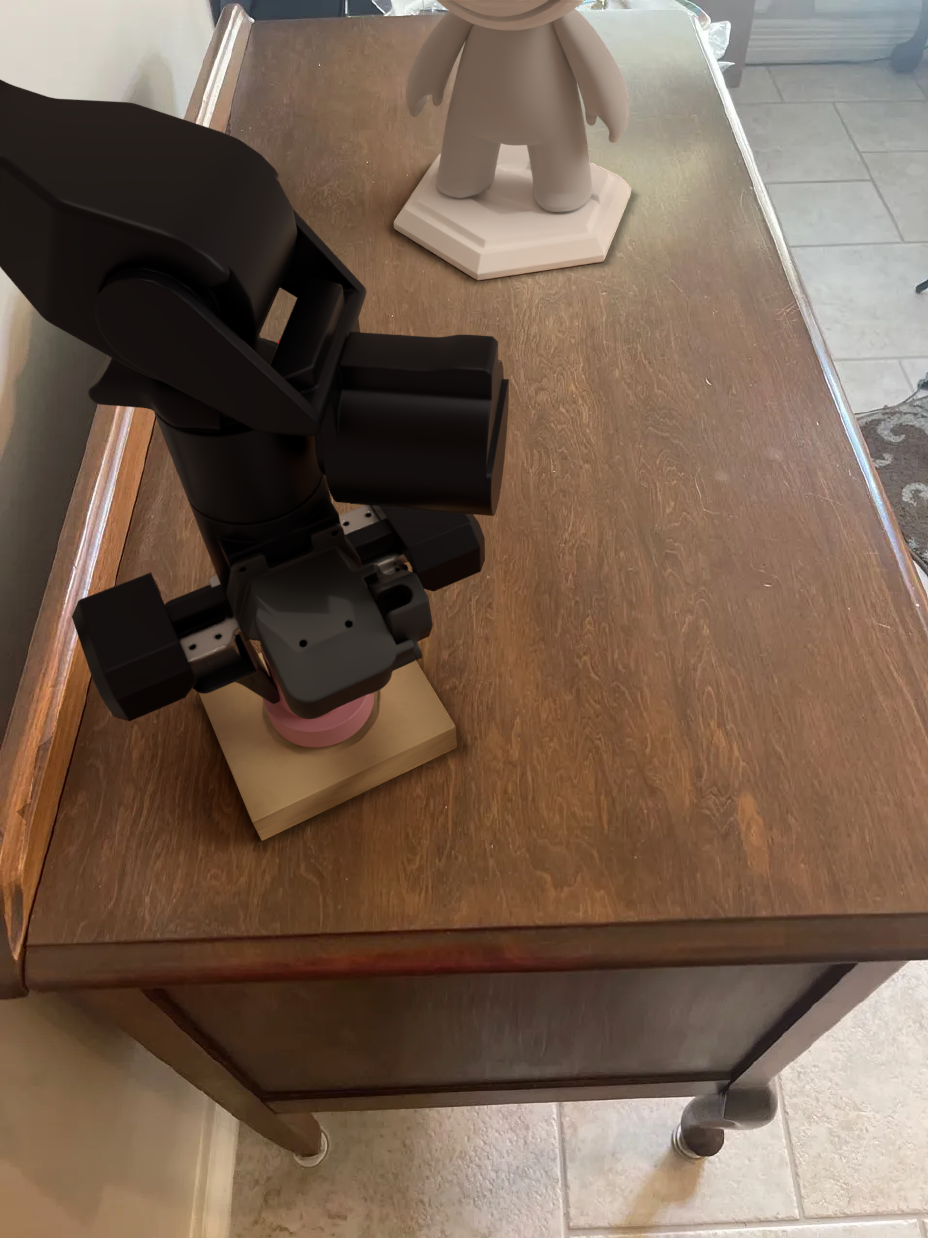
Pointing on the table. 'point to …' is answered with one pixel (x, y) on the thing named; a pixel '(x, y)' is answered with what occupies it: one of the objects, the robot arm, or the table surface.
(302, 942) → the table surface
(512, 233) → the white cartoon figure
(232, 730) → the doll stand
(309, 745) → the doll
